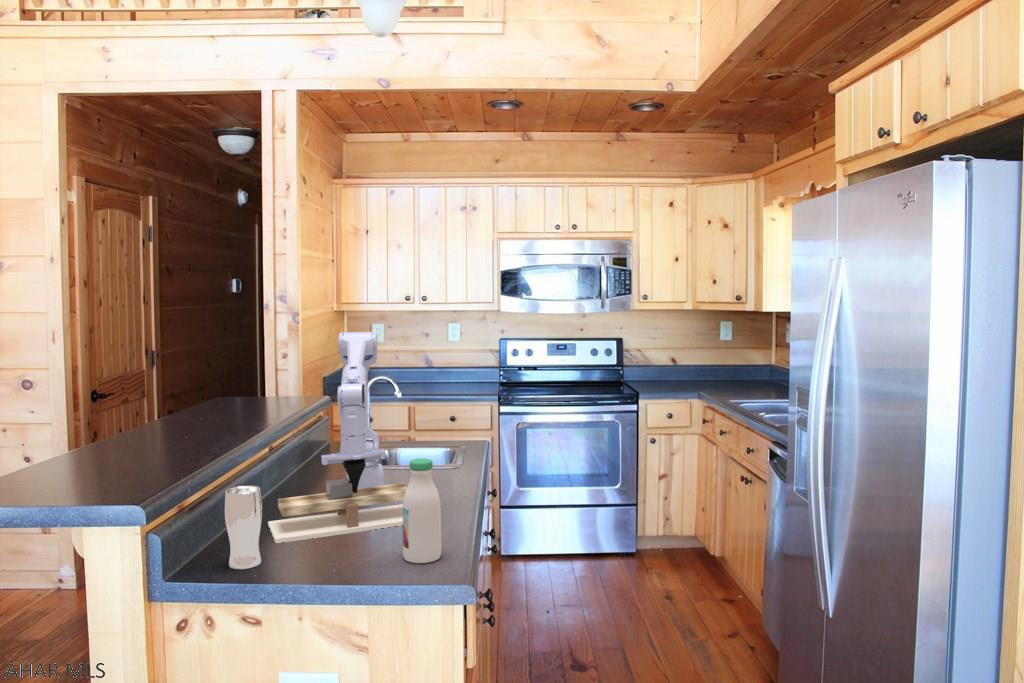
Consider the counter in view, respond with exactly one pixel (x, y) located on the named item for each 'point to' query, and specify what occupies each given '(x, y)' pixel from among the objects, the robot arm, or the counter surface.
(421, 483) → the milk bottle
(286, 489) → the counter surface
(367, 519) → the beam stand
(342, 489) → the block
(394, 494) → the balance beam
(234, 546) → the beer glass
